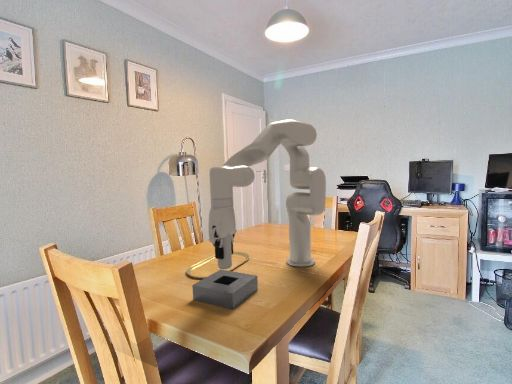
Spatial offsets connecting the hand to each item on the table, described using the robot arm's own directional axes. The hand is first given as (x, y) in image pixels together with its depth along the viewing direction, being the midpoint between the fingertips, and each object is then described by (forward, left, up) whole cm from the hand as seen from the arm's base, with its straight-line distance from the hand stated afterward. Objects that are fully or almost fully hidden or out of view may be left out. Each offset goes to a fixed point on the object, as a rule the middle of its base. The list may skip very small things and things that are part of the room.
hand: (224, 255), depth 98 cm
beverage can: (0, 0, -4) cm, 4 cm away
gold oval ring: (-24, -20, -14) cm, 34 cm away
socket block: (0, 0, -14) cm, 14 cm away
